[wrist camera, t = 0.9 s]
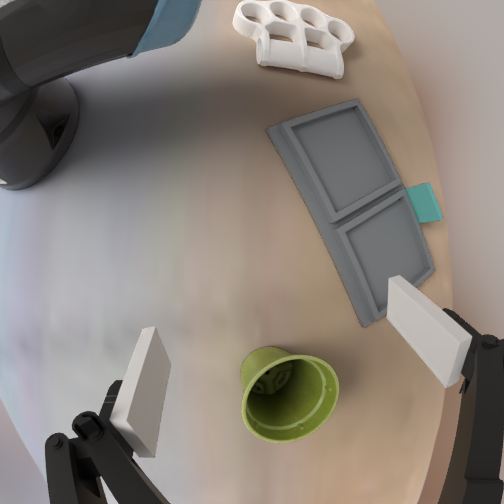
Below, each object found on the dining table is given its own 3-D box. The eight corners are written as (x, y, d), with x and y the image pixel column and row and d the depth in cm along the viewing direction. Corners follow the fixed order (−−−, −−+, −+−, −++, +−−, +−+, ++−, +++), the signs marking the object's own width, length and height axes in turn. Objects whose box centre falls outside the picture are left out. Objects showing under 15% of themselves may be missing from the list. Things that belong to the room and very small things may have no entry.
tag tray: (265, 130, 32) (281, 108, 27) (355, 100, 35) (377, 82, 30) (361, 326, 35) (389, 336, 29) (430, 268, 38) (459, 269, 32)
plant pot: (254, 316, 32) (279, 337, 23) (318, 352, 33) (356, 377, 25) (210, 385, 30) (221, 424, 22) (277, 414, 32) (303, 452, 24)
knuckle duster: (232, 67, 32) (232, 1, 32) (354, 87, 36) (338, 22, 36) (237, 52, 29) (236, -13, 29) (366, 77, 33) (347, 11, 33)
